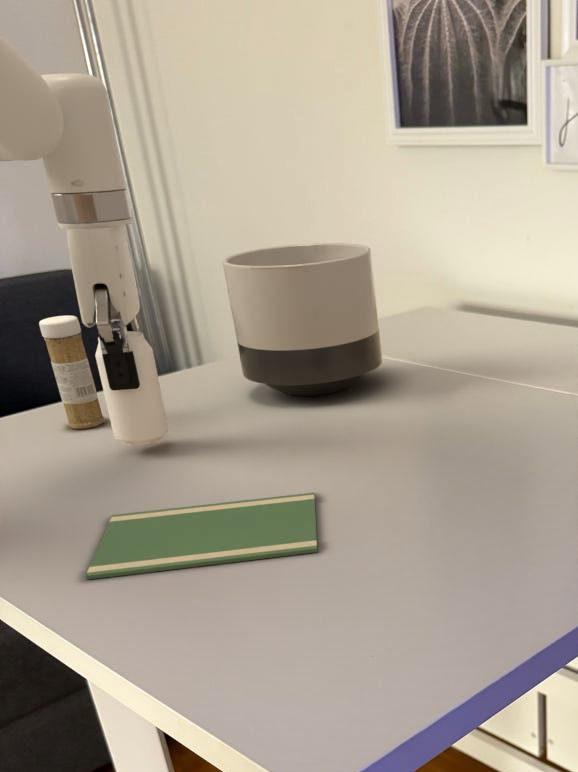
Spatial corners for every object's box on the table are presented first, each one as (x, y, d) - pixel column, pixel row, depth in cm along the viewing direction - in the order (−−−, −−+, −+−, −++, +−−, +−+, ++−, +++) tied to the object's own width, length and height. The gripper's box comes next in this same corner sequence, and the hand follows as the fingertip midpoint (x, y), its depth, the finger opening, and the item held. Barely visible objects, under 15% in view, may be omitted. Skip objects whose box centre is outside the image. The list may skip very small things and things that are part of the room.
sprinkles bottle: (101, 417, 124) (73, 312, 117) (108, 425, 121) (80, 318, 114) (65, 424, 122) (35, 318, 115) (72, 432, 119) (41, 324, 112)
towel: (86, 579, 81) (85, 575, 81) (113, 518, 93) (112, 514, 92) (317, 552, 83) (316, 548, 83) (314, 496, 95) (314, 492, 95)
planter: (218, 395, 131) (192, 260, 122) (322, 364, 143) (305, 240, 134) (308, 416, 119) (286, 270, 110) (412, 381, 132) (400, 246, 123)
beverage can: (108, 448, 108) (83, 342, 102) (124, 433, 113) (101, 331, 107) (162, 446, 108) (140, 340, 102) (175, 431, 113) (155, 329, 107)
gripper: (73, 206, 105) (109, 367, 114) (36, 219, 90) (81, 403, 99) (141, 202, 106) (172, 362, 115) (116, 215, 91) (154, 398, 100)
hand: (130, 380), depth 107 cm, fingers closed on beverage can, 6 cm apart
